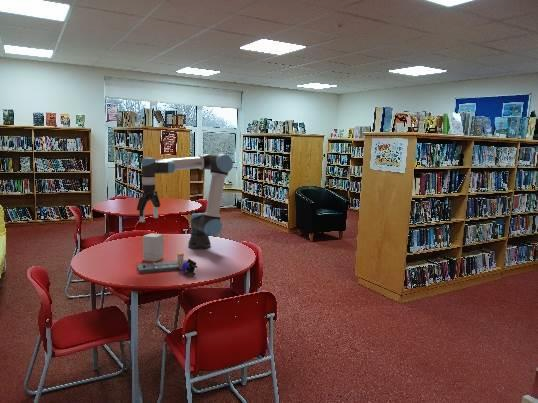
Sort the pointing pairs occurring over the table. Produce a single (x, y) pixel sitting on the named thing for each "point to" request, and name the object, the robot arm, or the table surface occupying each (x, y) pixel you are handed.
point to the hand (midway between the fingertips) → (149, 219)
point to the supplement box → (152, 247)
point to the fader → (179, 256)
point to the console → (158, 267)
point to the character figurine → (187, 266)
